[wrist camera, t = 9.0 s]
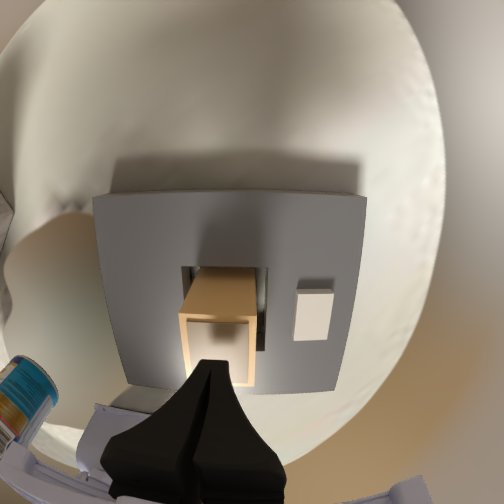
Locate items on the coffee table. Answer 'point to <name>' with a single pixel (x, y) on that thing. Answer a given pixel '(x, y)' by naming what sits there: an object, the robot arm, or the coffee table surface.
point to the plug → (221, 321)
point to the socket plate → (233, 255)
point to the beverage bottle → (24, 401)
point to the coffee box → (4, 219)
